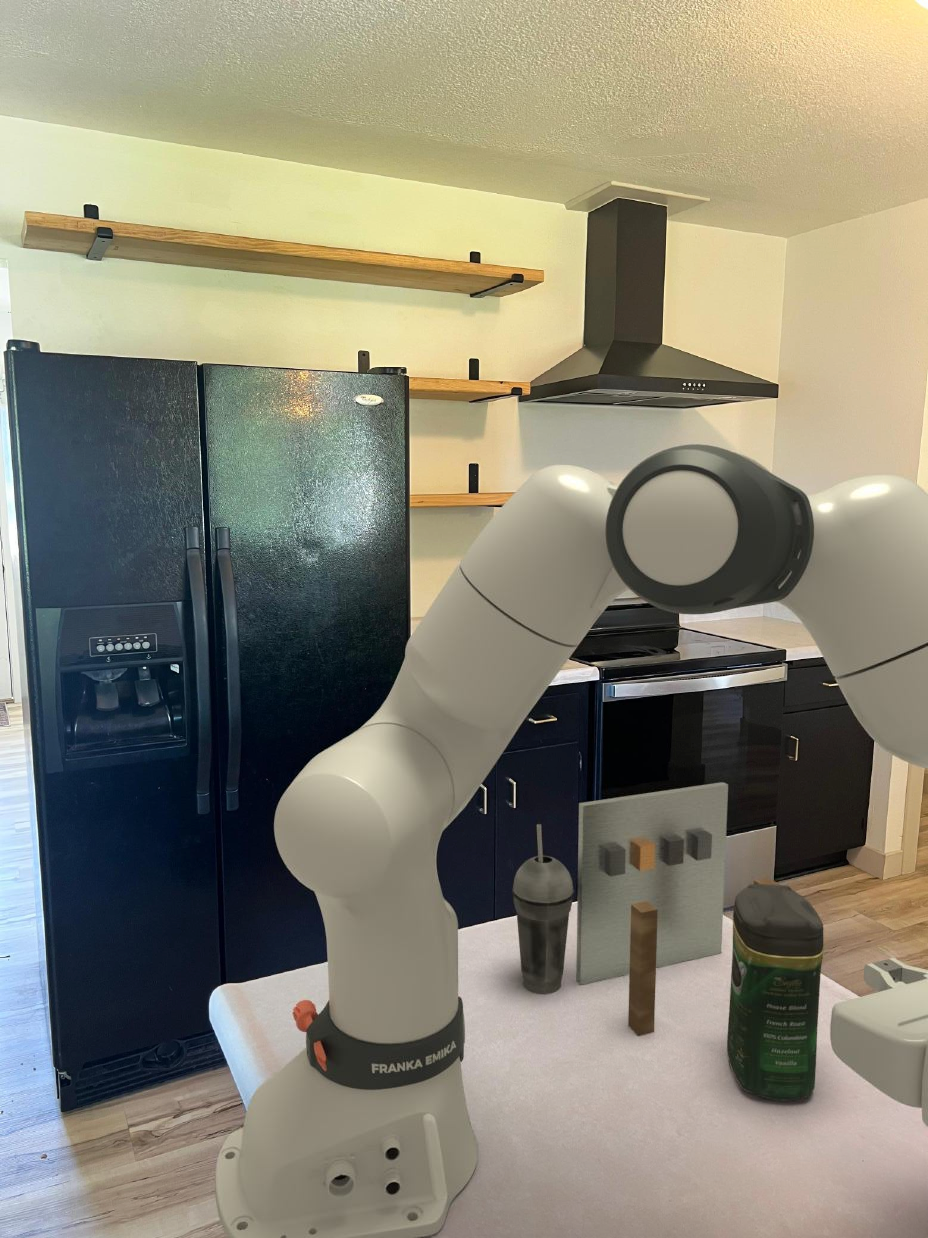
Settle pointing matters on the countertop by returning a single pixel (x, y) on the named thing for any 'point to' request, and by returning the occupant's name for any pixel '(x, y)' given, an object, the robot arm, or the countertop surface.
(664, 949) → the breaker panel
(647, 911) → the gate
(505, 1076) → the countertop surface
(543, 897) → the beverage cup
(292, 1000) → the countertop surface
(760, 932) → the coffee jar
